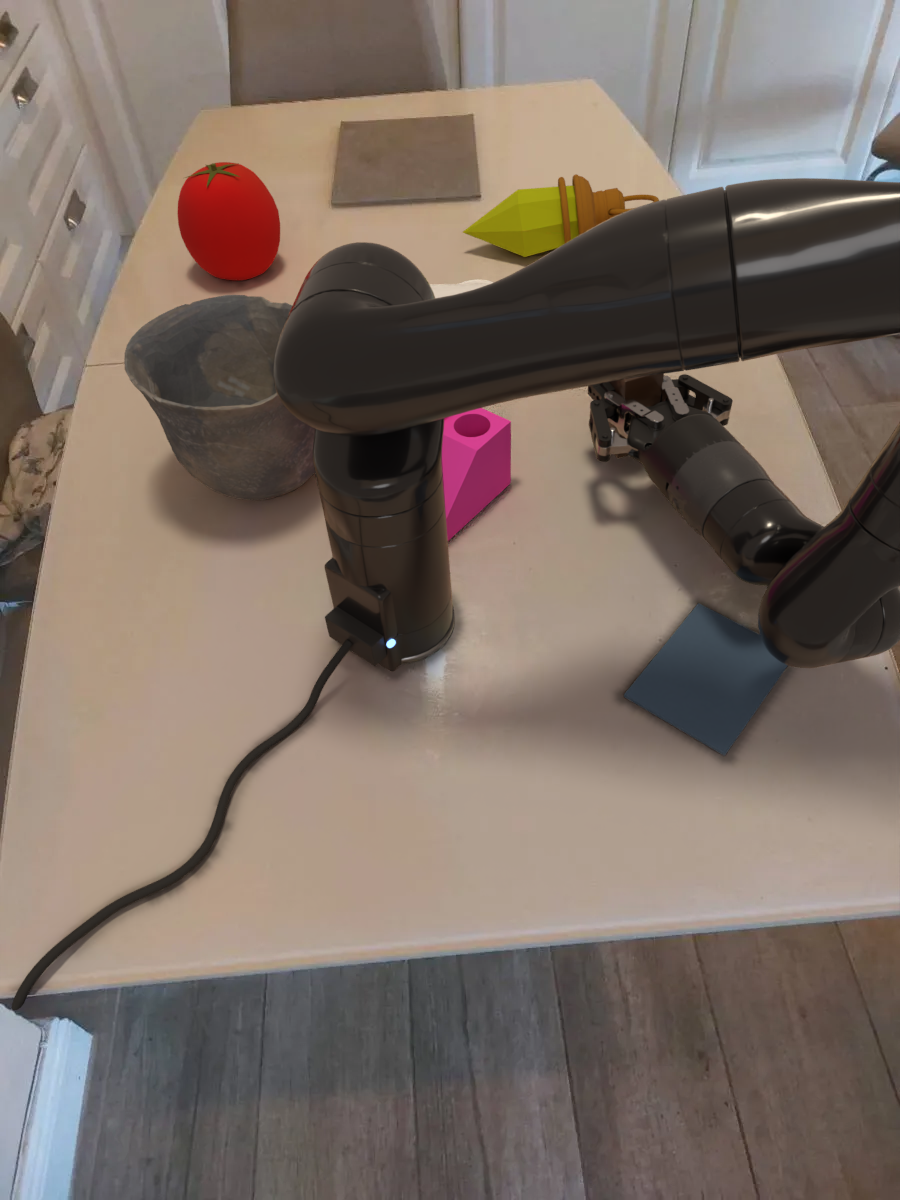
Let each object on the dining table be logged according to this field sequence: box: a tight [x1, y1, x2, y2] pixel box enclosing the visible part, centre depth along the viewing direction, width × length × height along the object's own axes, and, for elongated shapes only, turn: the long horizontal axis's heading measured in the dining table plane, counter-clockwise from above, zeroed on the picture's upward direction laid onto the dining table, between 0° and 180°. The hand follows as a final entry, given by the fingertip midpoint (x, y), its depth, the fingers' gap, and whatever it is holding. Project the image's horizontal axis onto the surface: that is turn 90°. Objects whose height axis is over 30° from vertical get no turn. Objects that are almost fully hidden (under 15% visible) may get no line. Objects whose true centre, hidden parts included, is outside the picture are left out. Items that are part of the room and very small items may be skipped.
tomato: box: [176, 161, 281, 281], centre depth 114 cm, size 13×11×14 cm
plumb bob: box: [462, 173, 660, 258], centre depth 116 cm, size 9×9×25 cm
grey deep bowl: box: [123, 294, 315, 501], centre depth 87 cm, size 18×18×15 cm
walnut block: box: [608, 374, 665, 459], centre depth 87 cm, size 5×4×9 cm
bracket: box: [442, 407, 512, 542], centre depth 86 cm, size 12×10×10 cm
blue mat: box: [623, 602, 789, 757], centre depth 74 cm, size 12×9×1 cm
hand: (614, 373), depth 88 cm, fingers closed on walnut block, 4 cm apart
